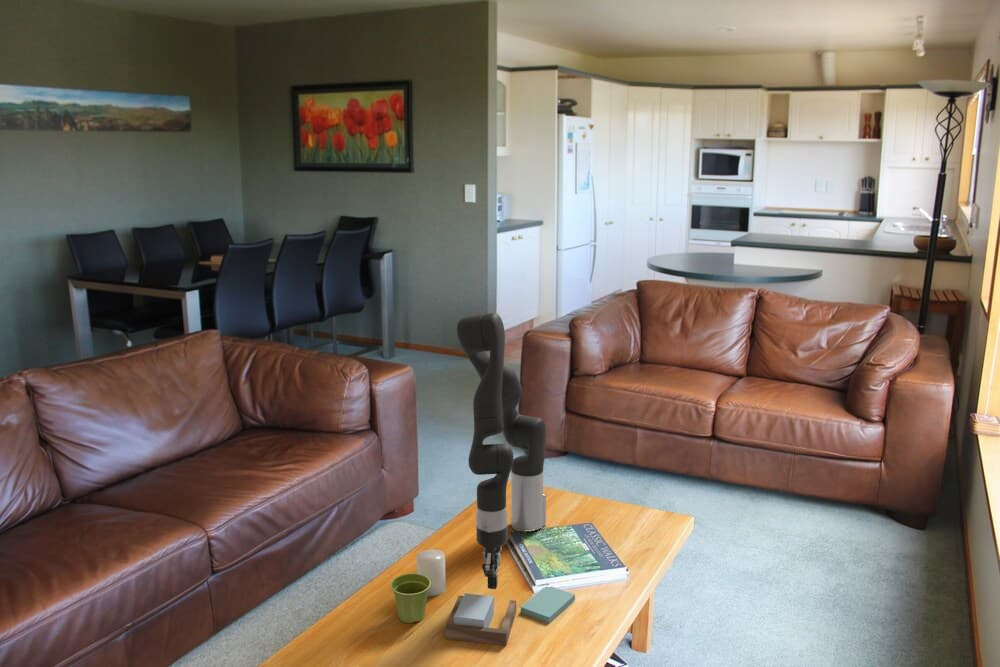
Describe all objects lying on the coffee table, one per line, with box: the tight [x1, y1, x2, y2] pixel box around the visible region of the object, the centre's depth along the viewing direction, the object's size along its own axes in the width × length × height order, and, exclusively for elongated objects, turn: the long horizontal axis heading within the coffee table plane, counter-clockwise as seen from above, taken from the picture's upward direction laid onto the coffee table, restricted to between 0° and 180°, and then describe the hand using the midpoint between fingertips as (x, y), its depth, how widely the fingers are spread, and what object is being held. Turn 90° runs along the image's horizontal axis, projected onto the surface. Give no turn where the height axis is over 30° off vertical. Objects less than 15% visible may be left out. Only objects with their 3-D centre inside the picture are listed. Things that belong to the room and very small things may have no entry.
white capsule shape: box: [416, 548, 447, 597], centre depth 207 cm, size 7×7×9 cm
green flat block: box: [520, 585, 576, 624], centre depth 200 cm, size 12×8×2 cm, turn 145°
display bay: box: [444, 595, 517, 646], centre depth 192 cm, size 14×14×3 cm
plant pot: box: [390, 572, 431, 624], centre depth 195 cm, size 9×9×9 cm
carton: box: [454, 593, 495, 628], centre depth 192 cm, size 10×7×5 cm
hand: (492, 587), depth 204 cm, fingers closed
